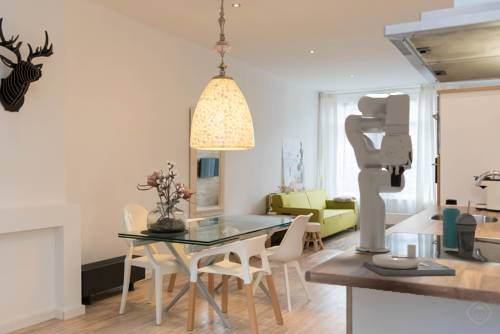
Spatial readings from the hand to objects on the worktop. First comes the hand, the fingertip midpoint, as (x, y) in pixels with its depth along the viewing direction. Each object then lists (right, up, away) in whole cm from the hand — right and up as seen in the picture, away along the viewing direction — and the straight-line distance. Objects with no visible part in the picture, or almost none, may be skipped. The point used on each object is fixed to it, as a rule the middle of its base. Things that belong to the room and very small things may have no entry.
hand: (395, 186), depth 152 cm
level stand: (-1, -25, -13) cm, 28 cm away
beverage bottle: (+29, -26, +24) cm, 46 cm away
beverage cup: (+29, -26, +13) cm, 41 cm away
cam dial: (-5, -23, -13) cm, 27 cm away
